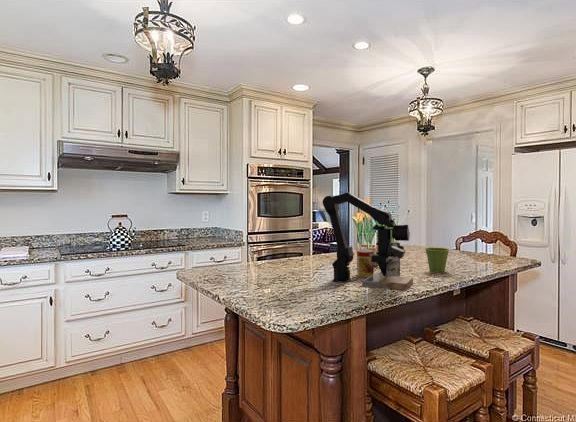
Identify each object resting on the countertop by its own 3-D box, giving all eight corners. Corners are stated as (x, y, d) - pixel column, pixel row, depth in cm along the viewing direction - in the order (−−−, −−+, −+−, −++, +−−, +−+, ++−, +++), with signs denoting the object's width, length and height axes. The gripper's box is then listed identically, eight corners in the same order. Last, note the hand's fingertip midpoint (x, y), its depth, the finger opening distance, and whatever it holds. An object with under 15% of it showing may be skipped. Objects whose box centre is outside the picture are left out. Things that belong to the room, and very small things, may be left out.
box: (362, 285, 155) (362, 281, 155) (372, 279, 168) (372, 274, 168) (381, 287, 151) (381, 282, 151) (390, 280, 164) (390, 276, 164)
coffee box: (400, 276, 172) (400, 242, 172) (387, 277, 172) (386, 243, 172) (395, 273, 181) (395, 240, 181) (382, 273, 181) (382, 241, 181)
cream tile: (379, 285, 154) (373, 284, 155) (385, 280, 163) (380, 280, 164) (378, 273, 154) (372, 273, 155) (385, 269, 162) (379, 269, 164)
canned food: (375, 276, 173) (375, 251, 173) (358, 277, 173) (358, 252, 173) (371, 273, 181) (371, 249, 181) (356, 273, 181) (355, 249, 181)
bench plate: (381, 287, 152) (381, 281, 152) (389, 281, 163) (389, 275, 163) (406, 289, 147) (406, 283, 147) (412, 283, 158) (412, 277, 158)
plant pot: (425, 272, 181) (425, 250, 181) (424, 268, 192) (423, 247, 192) (451, 273, 177) (451, 250, 177) (448, 269, 189) (448, 247, 188)
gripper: (397, 243, 145) (398, 282, 146) (408, 238, 161) (408, 273, 162) (370, 242, 151) (371, 279, 151) (383, 237, 167) (383, 271, 167)
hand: (384, 276), depth 158 cm, fingers closed, pressing on cream tile
